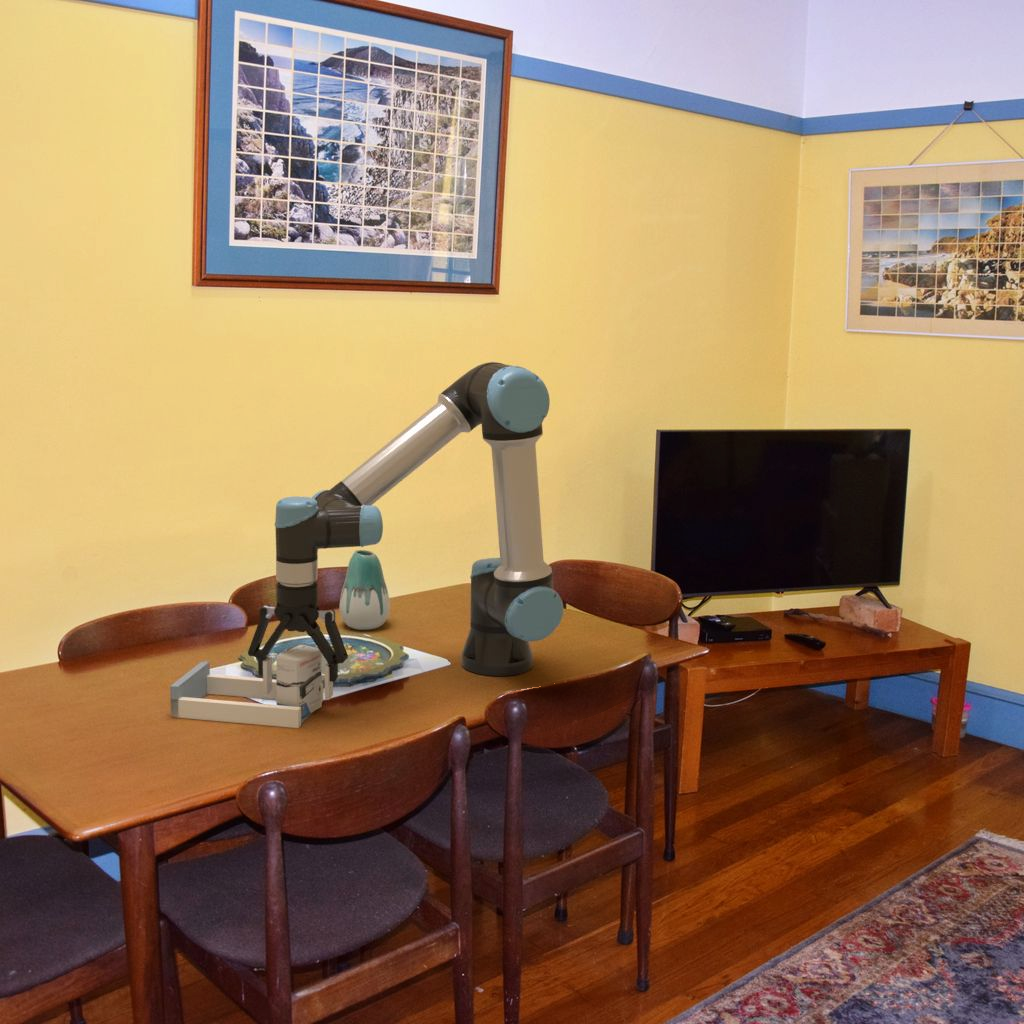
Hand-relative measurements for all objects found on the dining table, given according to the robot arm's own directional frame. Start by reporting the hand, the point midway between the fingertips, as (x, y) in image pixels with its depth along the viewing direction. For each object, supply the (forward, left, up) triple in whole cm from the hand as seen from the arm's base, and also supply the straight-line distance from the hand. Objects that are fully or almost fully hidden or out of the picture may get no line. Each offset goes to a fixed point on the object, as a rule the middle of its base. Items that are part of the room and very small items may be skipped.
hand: (298, 694), depth 226 cm
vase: (+3, -56, -4) cm, 56 cm away
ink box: (0, 0, -3) cm, 4 cm away
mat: (+1, 0, -4) cm, 4 cm away
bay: (+10, 0, -4) cm, 10 cm away
